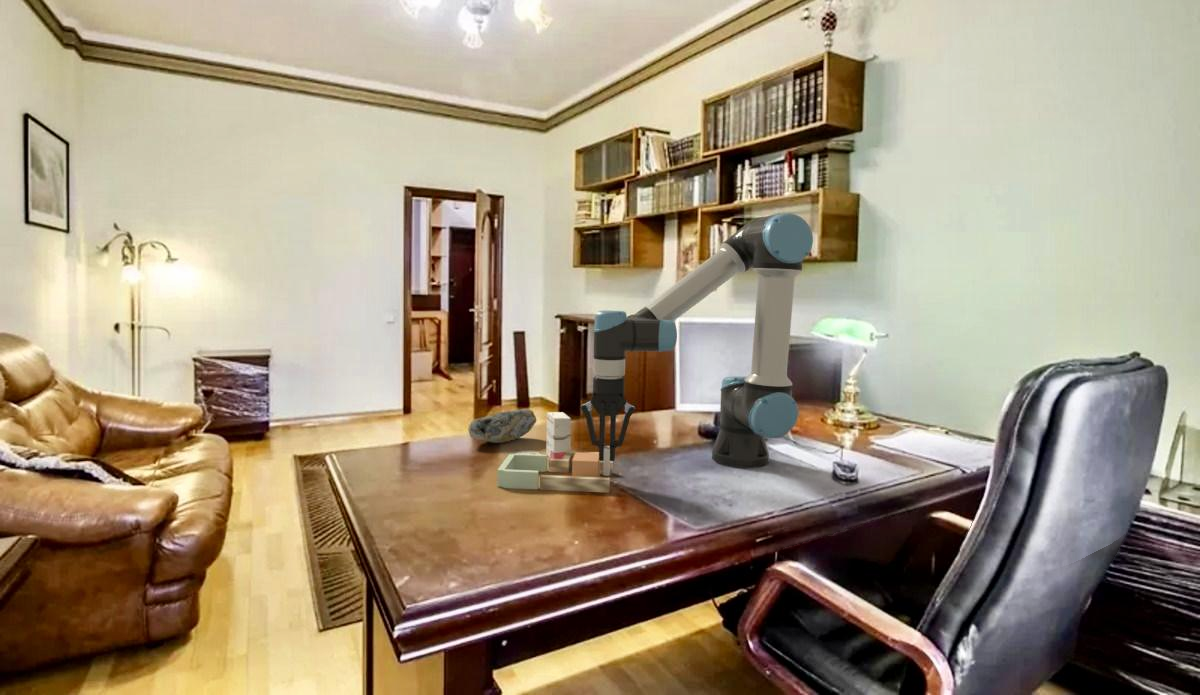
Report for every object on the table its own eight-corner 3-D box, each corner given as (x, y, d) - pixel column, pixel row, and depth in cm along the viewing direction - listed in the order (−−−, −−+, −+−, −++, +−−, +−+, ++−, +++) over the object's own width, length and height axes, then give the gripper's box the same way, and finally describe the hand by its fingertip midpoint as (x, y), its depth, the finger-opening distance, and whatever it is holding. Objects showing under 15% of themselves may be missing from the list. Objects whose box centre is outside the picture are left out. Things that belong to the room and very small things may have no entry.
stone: (461, 442, 189) (461, 408, 188) (529, 434, 200) (529, 402, 198) (473, 451, 180) (473, 416, 178) (543, 443, 190) (544, 409, 189)
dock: (547, 470, 164) (547, 454, 164) (537, 489, 149) (537, 472, 149) (510, 468, 165) (510, 453, 164) (496, 487, 150) (496, 470, 149)
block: (599, 477, 159) (600, 453, 158) (597, 486, 152) (597, 461, 152) (575, 476, 160) (575, 452, 159) (571, 485, 153) (572, 460, 152)
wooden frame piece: (613, 464, 170) (614, 452, 170) (609, 492, 148) (609, 479, 148) (553, 461, 171) (553, 450, 171) (539, 489, 149) (539, 476, 149)
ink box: (571, 461, 172) (572, 417, 171) (553, 463, 170) (553, 418, 169) (562, 452, 180) (563, 411, 179) (545, 454, 179) (546, 411, 177)
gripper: (636, 374, 156) (633, 470, 159) (582, 373, 157) (580, 468, 159) (636, 379, 149) (633, 479, 151) (579, 377, 149) (577, 477, 152)
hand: (606, 473), depth 155 cm, fingers closed
